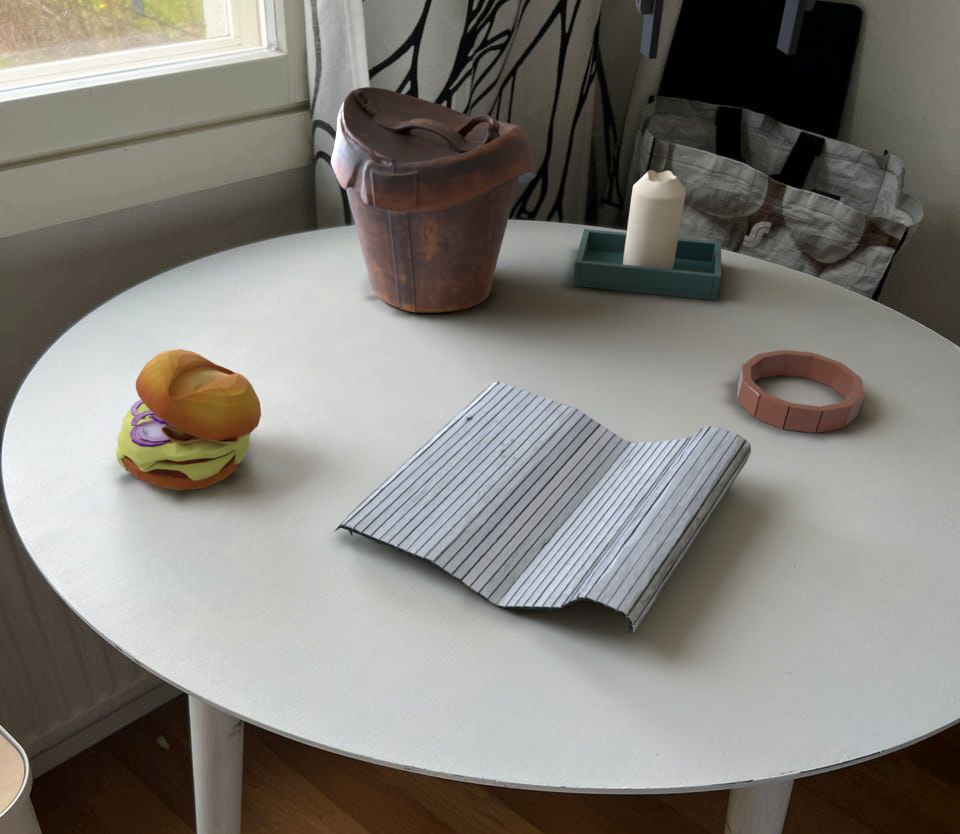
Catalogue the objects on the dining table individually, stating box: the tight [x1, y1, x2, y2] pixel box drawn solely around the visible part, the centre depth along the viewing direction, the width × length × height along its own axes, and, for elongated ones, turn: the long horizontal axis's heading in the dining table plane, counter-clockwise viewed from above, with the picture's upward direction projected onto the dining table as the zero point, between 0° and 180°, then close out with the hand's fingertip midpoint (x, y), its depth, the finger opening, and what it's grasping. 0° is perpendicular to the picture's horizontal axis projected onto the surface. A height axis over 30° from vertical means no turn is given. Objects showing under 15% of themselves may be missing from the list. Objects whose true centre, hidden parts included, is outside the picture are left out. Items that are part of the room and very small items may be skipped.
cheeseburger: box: [115, 348, 262, 491], centre depth 74 cm, size 10×11×10 cm
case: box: [330, 86, 537, 314], centre depth 95 cm, size 18×20×18 cm
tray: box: [572, 228, 722, 302], centre depth 104 cm, size 15×9×3 cm, turn 80°
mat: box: [333, 381, 752, 634], centre depth 72 cm, size 23×24×5 cm
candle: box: [623, 169, 687, 270], centre depth 101 cm, size 6×6×10 cm
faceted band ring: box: [736, 349, 866, 434], centre depth 86 cm, size 11×11×2 cm
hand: (717, 53), depth 89 cm, fingers open, 13 cm apart
